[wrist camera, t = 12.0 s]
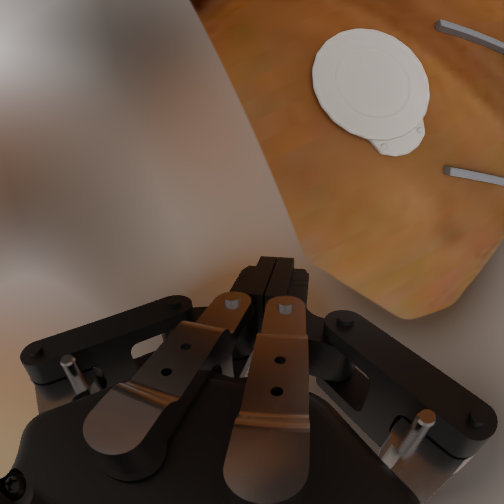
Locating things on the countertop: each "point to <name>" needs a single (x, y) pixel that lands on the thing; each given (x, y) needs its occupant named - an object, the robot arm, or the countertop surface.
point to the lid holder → (492, 44)
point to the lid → (373, 89)
